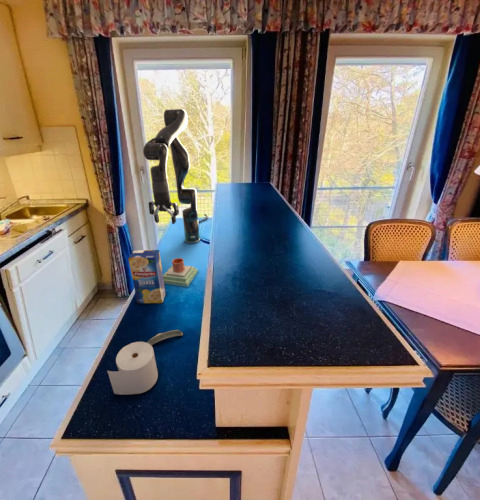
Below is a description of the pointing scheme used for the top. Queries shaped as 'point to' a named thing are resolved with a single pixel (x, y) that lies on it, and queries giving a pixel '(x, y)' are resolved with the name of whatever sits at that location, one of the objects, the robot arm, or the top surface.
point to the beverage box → (147, 276)
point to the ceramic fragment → (164, 336)
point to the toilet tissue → (134, 369)
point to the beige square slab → (180, 274)
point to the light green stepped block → (180, 278)
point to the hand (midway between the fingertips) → (165, 222)
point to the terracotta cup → (178, 265)
